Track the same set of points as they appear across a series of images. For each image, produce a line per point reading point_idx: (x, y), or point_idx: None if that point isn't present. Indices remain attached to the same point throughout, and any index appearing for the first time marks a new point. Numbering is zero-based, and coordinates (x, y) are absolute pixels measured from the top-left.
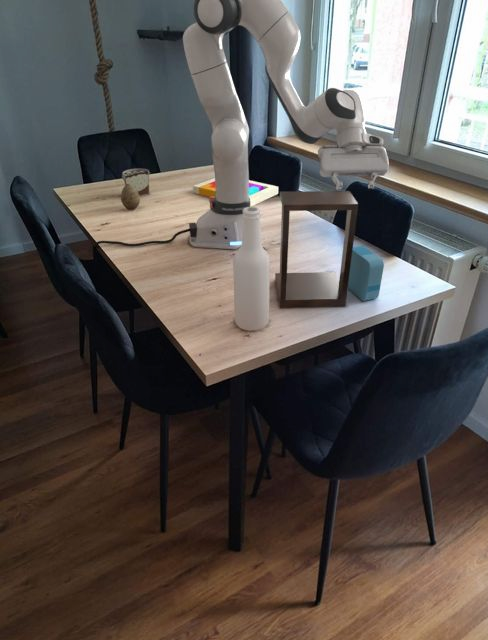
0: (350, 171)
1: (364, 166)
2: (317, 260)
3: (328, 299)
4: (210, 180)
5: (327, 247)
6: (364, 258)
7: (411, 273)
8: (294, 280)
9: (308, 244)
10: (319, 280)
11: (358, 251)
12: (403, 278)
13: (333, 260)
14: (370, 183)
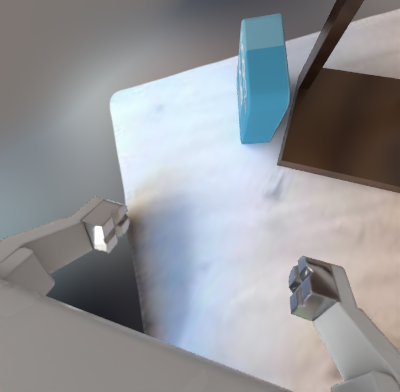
0: (226, 366)
1: (19, 356)
2: (276, 252)
3: (336, 70)
4: None
5: (228, 307)
6: (283, 30)
7: (133, 149)
8: (381, 148)
9: (264, 340)
10: (327, 135)
11: (279, 67)
12: (157, 137)
13: (243, 241)
14: (106, 213)
